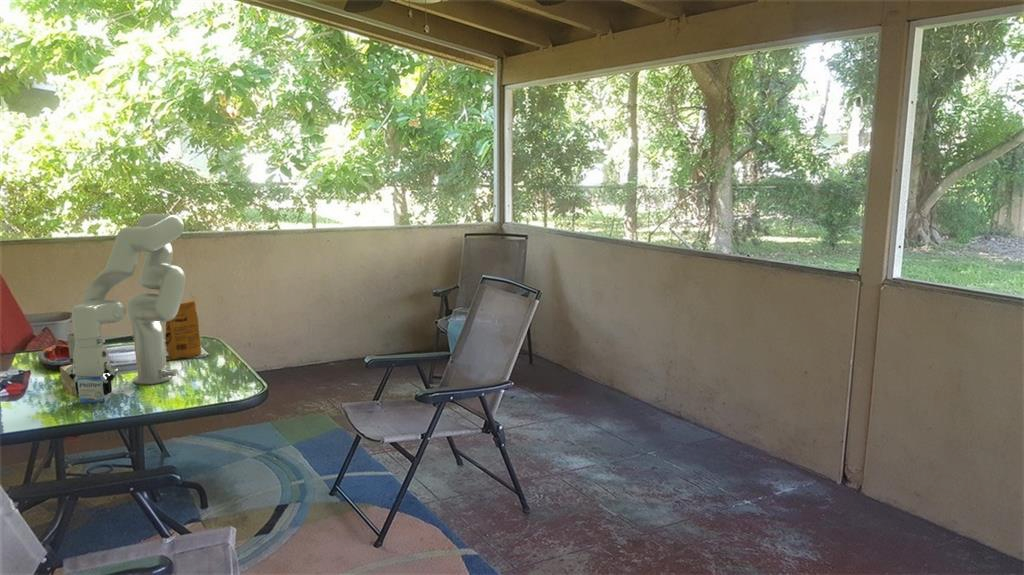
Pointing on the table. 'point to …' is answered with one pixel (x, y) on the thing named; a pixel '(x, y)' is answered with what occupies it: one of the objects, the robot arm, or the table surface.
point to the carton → (68, 383)
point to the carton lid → (65, 368)
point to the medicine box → (91, 390)
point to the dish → (55, 357)
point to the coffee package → (183, 333)
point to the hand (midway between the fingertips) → (94, 393)
